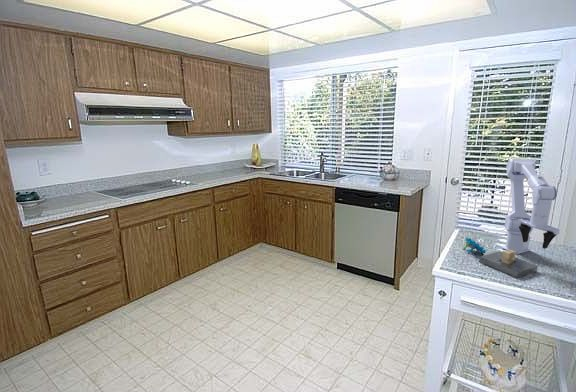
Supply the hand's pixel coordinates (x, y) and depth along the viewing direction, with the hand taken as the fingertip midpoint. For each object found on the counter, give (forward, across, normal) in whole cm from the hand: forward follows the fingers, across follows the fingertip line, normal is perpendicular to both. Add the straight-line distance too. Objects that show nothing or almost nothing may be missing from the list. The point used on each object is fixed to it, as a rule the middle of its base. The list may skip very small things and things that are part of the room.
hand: (534, 244), depth 132 cm
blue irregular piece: (+10, -19, -10) cm, 24 cm away
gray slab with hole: (+9, -4, -10) cm, 15 cm away
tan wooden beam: (+9, -4, -11) cm, 15 cm away
